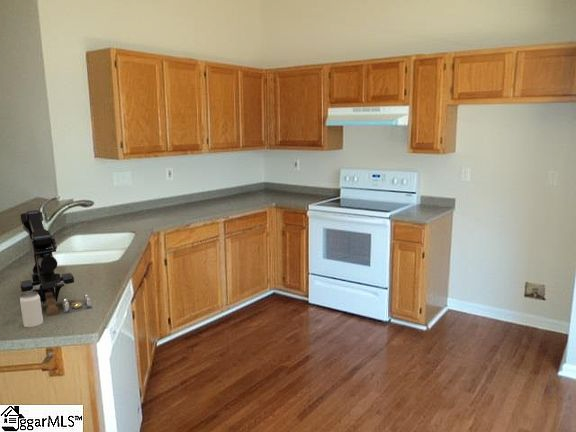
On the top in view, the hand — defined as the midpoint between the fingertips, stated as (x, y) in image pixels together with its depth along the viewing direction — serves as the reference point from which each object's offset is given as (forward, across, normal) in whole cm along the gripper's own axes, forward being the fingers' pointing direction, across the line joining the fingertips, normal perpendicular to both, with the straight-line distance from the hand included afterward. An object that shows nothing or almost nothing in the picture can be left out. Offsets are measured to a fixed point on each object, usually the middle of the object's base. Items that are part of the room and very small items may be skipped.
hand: (50, 302), depth 185 cm
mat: (+3, +9, -4) cm, 10 cm away
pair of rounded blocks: (+2, +9, -7) cm, 11 cm away
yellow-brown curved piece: (+2, +9, -6) cm, 11 cm away
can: (+3, -7, -13) cm, 15 cm away
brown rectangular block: (+3, 0, -3) cm, 4 cm away
